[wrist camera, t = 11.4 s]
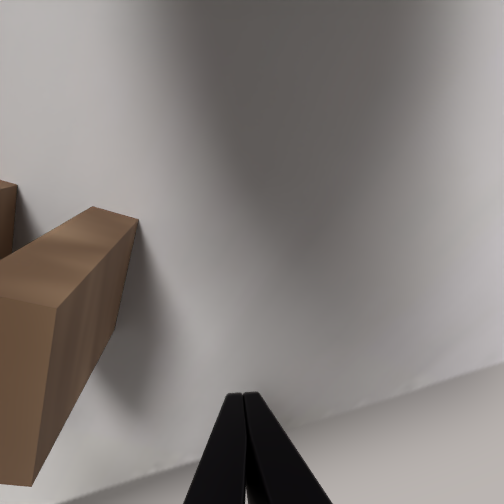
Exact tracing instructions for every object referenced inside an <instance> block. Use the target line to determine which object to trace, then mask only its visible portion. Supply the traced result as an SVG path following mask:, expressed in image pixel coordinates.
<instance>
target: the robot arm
mask: <svg viewBox="0 0 504 504" xmlns="http://www.w3.org/2000/svg"><path fill="white" fill-rule="evenodd" d="M246 490H247V498H248V504H332V502H331V501H330V499H329V498H328V496H327V495H326V493H325V492H324V490H323V488H322V487H321V485H320V484H319V483H318V481H317V479H316V478H315V477H314V475H313V473H312V472H311V470H310V469H309V467H308V466H307V464H306V463H305V461H304V460H303V458H302V457H301V455H300V454H299V452H298V451H297V449H296V448H295V446H294V445H293V443H292V442H291V440H290V439H289V437H288V436H287V434H286V433H285V431H284V430H283V428H282V427H281V425H280V424H279V422H278V421H277V419H276V418H275V416H274V415H273V413H272V412H271V410H270V408H269V407H268V405H267V404H266V402H265V401H264V399H263V398H262V396H261V395H260V394H259V393H258V392H245V393H243V394H242V393H228V394H227V395H226V397H225V400H224V402H223V405H222V407H221V410H220V412H219V415H218V417H217V420H216V422H215V425H214V427H213V430H212V432H211V435H210V437H209V440H208V442H207V445H206V447H205V450H204V452H203V455H202V457H201V460H200V463H199V465H198V468H197V470H196V473H195V475H194V478H193V480H192V483H191V485H190V488H189V490H188V493H187V495H186V498H185V501H184V503H183V504H245V493H246Z"/></svg>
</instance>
